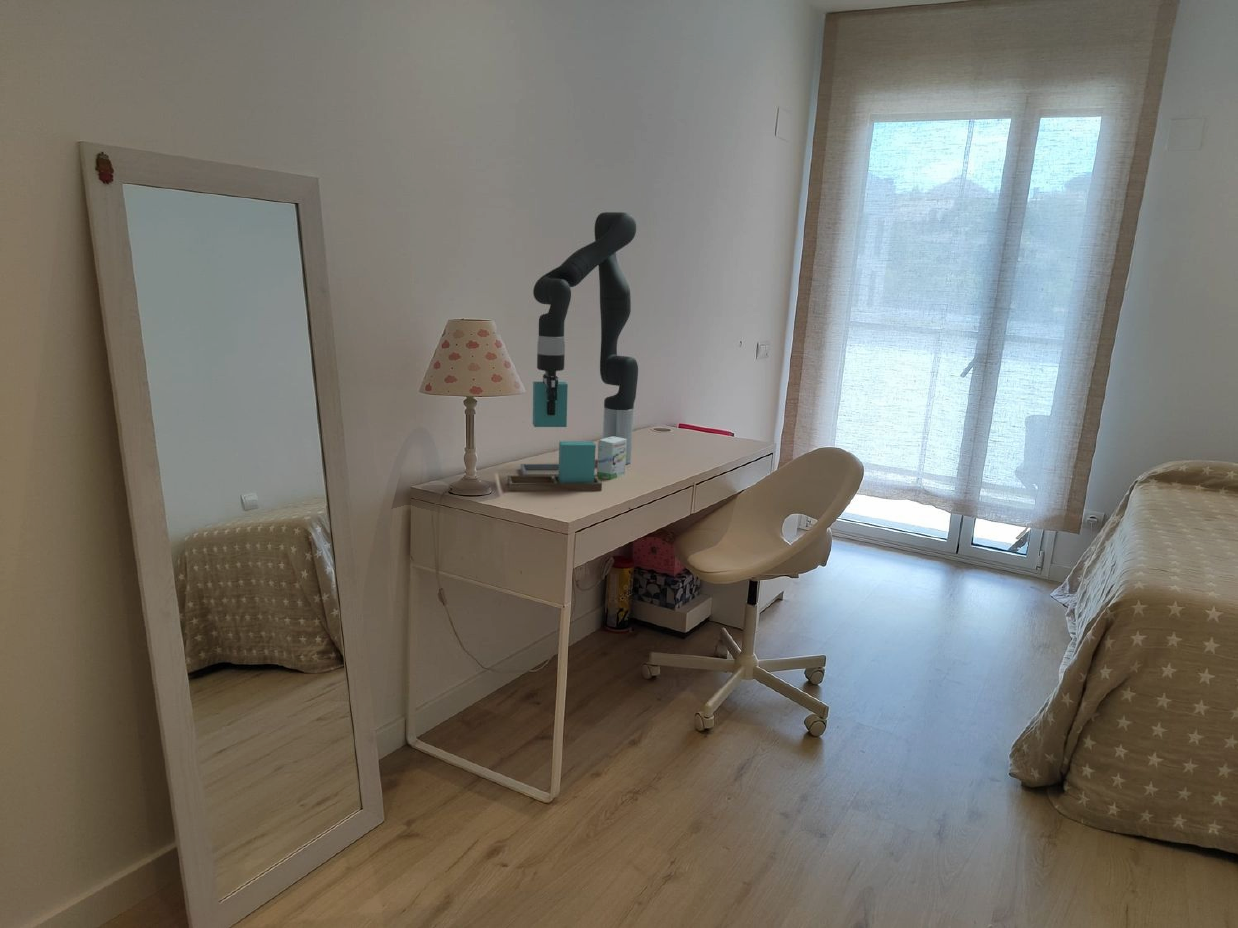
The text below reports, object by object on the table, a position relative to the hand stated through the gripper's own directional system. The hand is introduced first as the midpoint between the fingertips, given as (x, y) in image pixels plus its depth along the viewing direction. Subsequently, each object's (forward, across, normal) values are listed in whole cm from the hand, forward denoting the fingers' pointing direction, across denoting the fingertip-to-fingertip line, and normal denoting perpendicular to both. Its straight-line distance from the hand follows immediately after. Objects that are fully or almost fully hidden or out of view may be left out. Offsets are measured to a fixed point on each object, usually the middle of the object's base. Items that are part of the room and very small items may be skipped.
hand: (549, 413), depth 224 cm
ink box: (+19, -2, -18) cm, 26 cm away
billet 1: (+3, 0, 0) cm, 3 cm away
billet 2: (+18, -14, -6) cm, 23 cm away
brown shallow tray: (+18, -14, 0) cm, 23 cm away
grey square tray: (+19, 0, 0) cm, 19 cm away
